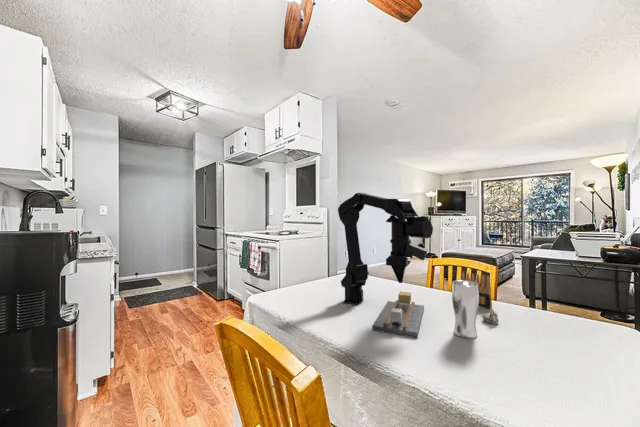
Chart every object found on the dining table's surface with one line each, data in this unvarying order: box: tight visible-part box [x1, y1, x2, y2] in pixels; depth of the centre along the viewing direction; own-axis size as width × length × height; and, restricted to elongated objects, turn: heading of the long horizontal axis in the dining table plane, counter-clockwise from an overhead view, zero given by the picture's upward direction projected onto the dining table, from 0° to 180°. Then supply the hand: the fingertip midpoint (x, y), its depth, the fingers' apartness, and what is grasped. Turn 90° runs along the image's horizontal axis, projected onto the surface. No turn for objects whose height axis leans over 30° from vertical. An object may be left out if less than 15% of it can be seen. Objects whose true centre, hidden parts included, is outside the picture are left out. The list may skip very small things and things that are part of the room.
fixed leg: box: [391, 308, 402, 324], centre depth 87 cm, size 3×3×4 cm
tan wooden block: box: [397, 291, 412, 304], centre depth 104 cm, size 4×4×3 cm
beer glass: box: [451, 279, 479, 340], centre depth 82 cm, size 7×7×15 cm
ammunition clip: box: [460, 271, 493, 310], centre depth 108 cm, size 11×2×12 cm, turn 44°
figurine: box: [481, 306, 499, 325], centre depth 91 cm, size 5×4×6 cm
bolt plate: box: [371, 299, 425, 339], centre depth 94 cm, size 13×25×2 cm, turn 156°
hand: (400, 282), depth 95 cm, fingers closed
